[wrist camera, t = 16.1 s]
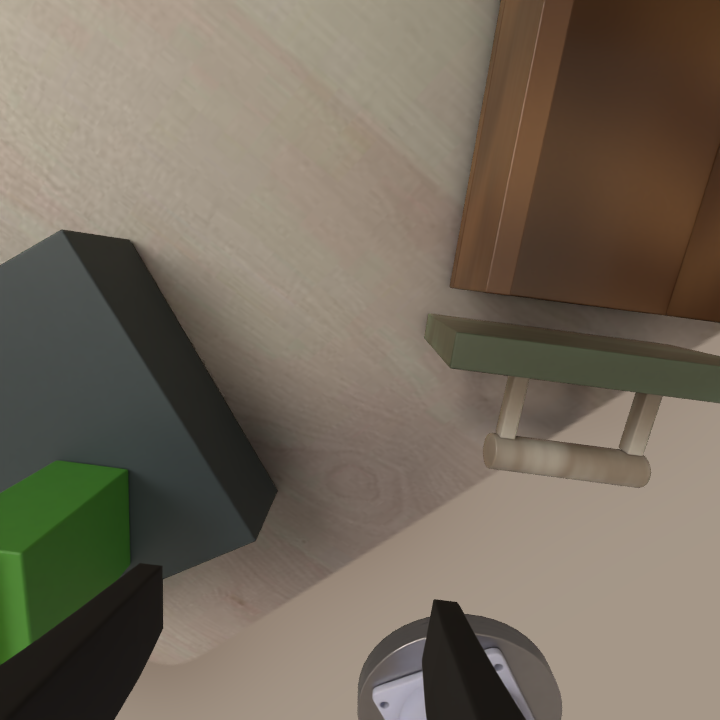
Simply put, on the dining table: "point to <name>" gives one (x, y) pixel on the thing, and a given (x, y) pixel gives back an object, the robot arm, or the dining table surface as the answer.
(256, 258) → the dining table surface
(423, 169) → the dining table surface
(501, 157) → the drawer
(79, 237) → the dark grey square tile
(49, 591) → the yellow-striped green block
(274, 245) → the dining table surface
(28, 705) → the robot arm
